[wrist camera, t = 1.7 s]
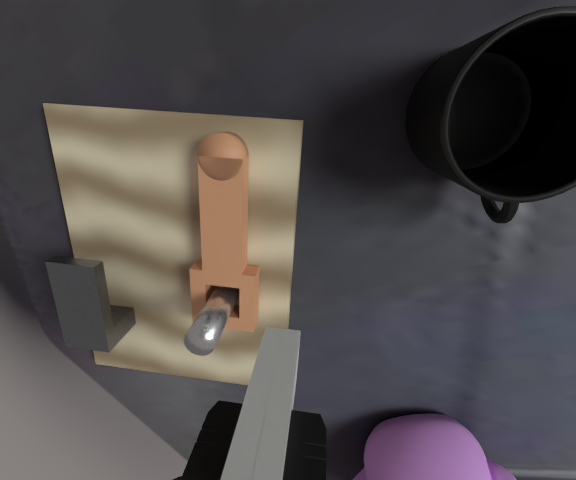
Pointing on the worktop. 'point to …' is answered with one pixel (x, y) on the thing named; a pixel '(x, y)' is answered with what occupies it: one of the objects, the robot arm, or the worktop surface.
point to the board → (173, 224)
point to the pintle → (211, 321)
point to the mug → (503, 112)
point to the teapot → (426, 451)
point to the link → (224, 229)
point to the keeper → (86, 305)
